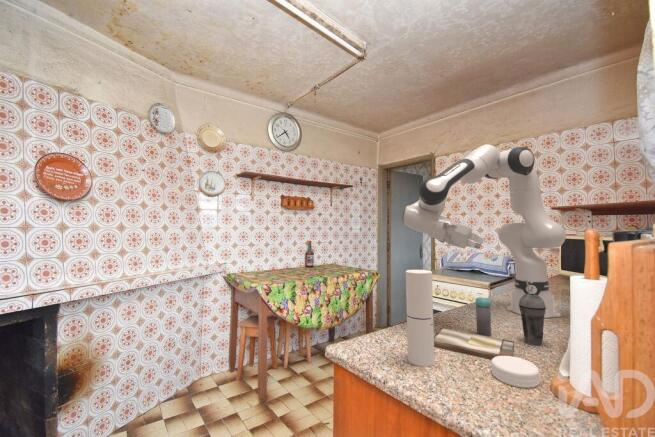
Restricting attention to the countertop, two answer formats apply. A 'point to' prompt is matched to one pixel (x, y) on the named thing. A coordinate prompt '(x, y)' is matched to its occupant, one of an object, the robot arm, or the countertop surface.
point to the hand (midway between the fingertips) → (481, 244)
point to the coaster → (515, 371)
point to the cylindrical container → (420, 317)
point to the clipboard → (473, 344)
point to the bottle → (483, 316)
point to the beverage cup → (532, 317)
